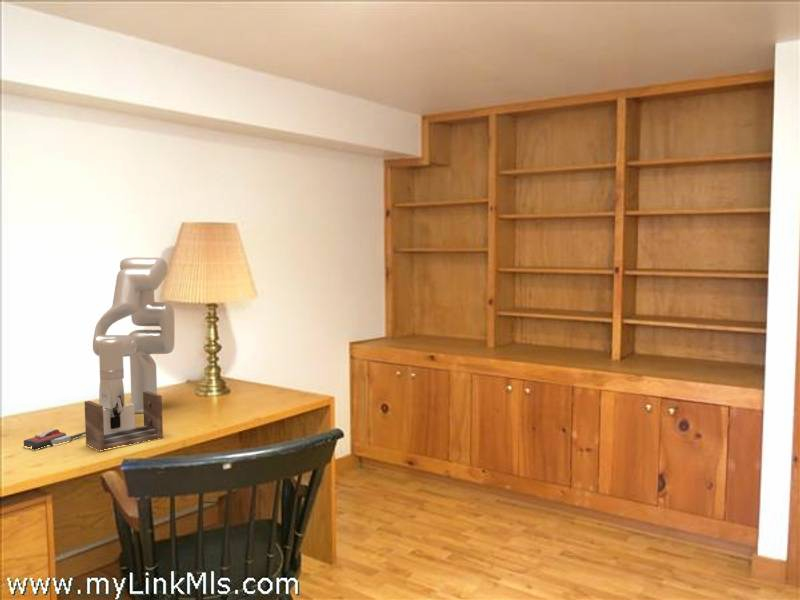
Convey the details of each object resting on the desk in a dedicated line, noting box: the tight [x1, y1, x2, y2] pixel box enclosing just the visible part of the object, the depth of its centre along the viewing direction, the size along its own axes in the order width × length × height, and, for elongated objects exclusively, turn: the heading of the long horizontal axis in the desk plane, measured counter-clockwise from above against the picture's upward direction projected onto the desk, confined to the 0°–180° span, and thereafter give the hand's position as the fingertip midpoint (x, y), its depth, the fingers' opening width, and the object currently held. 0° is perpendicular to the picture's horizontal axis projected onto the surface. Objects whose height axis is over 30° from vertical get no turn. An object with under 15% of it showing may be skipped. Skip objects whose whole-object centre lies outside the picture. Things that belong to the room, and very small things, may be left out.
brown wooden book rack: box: [84, 391, 164, 451], centre depth 219 cm, size 21×10×14 cm, turn 137°
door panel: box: [103, 403, 136, 434], centre depth 229 cm, size 14×4×9 cm, turn 137°
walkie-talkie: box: [23, 428, 86, 450], centre depth 219 cm, size 9×4×20 cm
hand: (113, 426), depth 230 cm, fingers closed on door panel, 2 cm apart
